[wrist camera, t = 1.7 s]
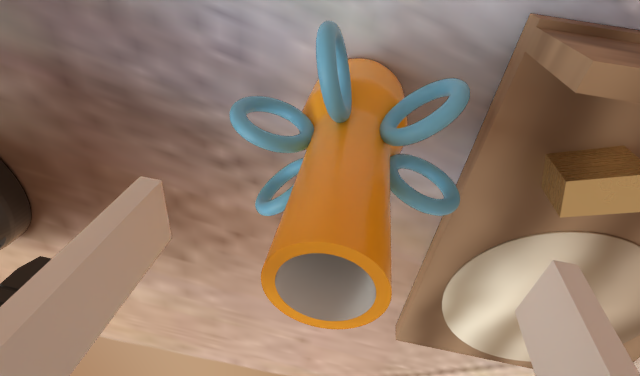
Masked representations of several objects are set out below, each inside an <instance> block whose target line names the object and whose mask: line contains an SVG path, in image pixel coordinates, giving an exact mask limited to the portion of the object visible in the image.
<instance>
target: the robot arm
mask: <svg viewBox="0 0 640 376" xmlns="http://www.w3.org/2000/svg"><path fill="white" fill-rule="evenodd" d="M30 221H31V210H30V205H29V202H28V199H27V197H26V194H25V192H24V190H23V188H22V187H21V185H20V183H19V182H18V180H17V179H16V178H15V176H14V175H13V174H12V172H11V171H10V170H9V169H8V167H7V166H6V165H5V164H4V163H3V162H2V161H1V160H0V250H1V249H3V248H4V247H6V246H7V245H9V244H10V243H11V242H13V241H14V240H15V239H16V238H18V237H19V236H20V235H21V234H22V233H24V232H25V231H26V230H27V228H28V227H29V224H30ZM171 239H172V235H171V230H170V224H169V219H168V213H167V208H166V202H165V197H164V191H163V186H162V180H157V179H153V178H148V177H143V176H140V177H139V178H138V179H137V180H136V181H135V182H134V183H132V184H131V185H130V186H129V187H128V188H127V189H126V190H125V191H124V192H123V193H122V194H121V195H120V196H119V197H117V198H116V199H115V200H114V201H113V202H112V203H111V204H110V205H109V206H108V207H107V208H106V209H105V210H104V211H102V212H101V213H100V214H99V215H98V216H97V217H96V218H95V219H94V220H93V221H92V222H91V223H90V224H89V225H87V226H86V227H85V228H84V229H83V230H82V231H81V232H80V233H79V234H78V235H77V236H76V237H75V238H74V239H72V240H71V241H70V242H69V243H68V244H67V245H66V246H65V247H64V248H63V249H62V250H61V251H60V252H59V253H58V254H56V255H55V256H54V257H53V258H52V259H50V258H46V257H41V256H40V257H38V258H36V259H34V260H32V261H31V262H29V263H27V264H25V265H23V266H21V267H20V268H18V269H17V270H16V271H14V272H13V273H12V274H11V275H10V276H9V277H8V278H6V279H5V280H4V281H3V282H2V283H1V284H0V376H70V374H71V373H72V372H73V370H74V369H75V368H76V366H77V365H78V364H79V362H80V361H81V360H82V358H83V357H84V356H85V354H86V353H87V352H88V350H89V349H90V347H91V346H92V345H93V343H94V342H95V341H96V339H97V338H98V337H99V335H100V334H101V333H102V331H103V330H104V329H105V327H106V326H107V325H108V323H109V322H110V321H111V319H112V318H113V317H114V315H115V314H116V313H117V311H118V310H119V308H120V307H121V306H122V304H123V303H124V302H125V300H126V299H127V298H128V296H129V295H130V294H131V292H132V291H133V290H134V288H135V287H136V286H137V284H138V283H139V282H140V280H141V279H142V278H143V276H144V275H145V274H146V272H147V271H148V269H149V268H150V267H151V265H152V264H153V263H154V261H155V260H156V259H157V257H158V256H159V255H160V253H161V252H162V251H163V249H164V248H165V247H166V245H167V244H168V243H169V241H170V240H171ZM515 314H516V317H517V320H518V323H519V326H520V330H521V333H522V336H523V339H524V342H525V345H526V348H527V351H528V354H529V357H530V360H531V363H532V366H533V369H534V372H535V376H640V374H639V372H638V370H637V368H636V367H635V365H634V363H633V361H632V360H631V358H630V356H629V354H628V353H627V351H626V349H625V347H624V345H623V344H622V342H621V340H620V338H619V337H618V335H617V333H616V331H615V330H614V328H613V326H612V324H611V323H610V321H609V319H608V317H607V315H606V314H605V312H604V310H603V308H602V307H601V305H600V303H599V301H598V300H597V298H596V296H595V294H594V293H593V291H592V289H591V287H590V286H589V284H588V282H587V280H586V278H585V277H584V275H583V273H582V271H581V270H580V268H579V266H578V265H576V264H571V263H566V262H561V261H556V260H553V261H552V262H551V263H550V265H549V266H548V267H547V269H546V270H545V271H544V273H543V274H542V275H541V277H540V278H539V279H538V281H537V282H536V283H535V285H534V286H533V287H532V289H531V290H530V291H529V293H528V294H527V295H526V297H525V298H524V299H523V301H522V302H521V303H520V305H519V306H518V307H517V309H516V310H515Z"/></svg>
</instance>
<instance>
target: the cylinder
mask: <svg viewBox="0 0 640 376" xmlns="http://www.w3.org/2000/svg"><path fill="white" fill-rule="evenodd" d="M316 59H317V69H318V76H319V79H318V80H317V82H316V84H315V86H314V88H313V90H312V92H311V94H310V96H309V98H308V100H307V102H306V104H305V106H304V109H303V112H301V111H300V110H299V109H297V108H295V107H294V106H292V105H290V104H288V103H286V102H283V101H280V100H277V99H274V98H269V97H263V96H250V97H245V98H242V99H240V100H238V101H237V102H235V103H234V104H233V106H232V107H231V110H230V121H231V124H232V126H233V127H234V129H235V130H236V131H237V132H238V133H239V134H240V135H241V136H242V137H243V138H244V139H246V140H247V141H249V142H250V143H252V144H254V145H256V146H258V147H261V148H263V149H266V150H269V151H274V152H279V153H295V152H299V151H302V150H305V149H306V150H307V151H306V153H305V156H304V158H301V159H299V160H296V161H294V162H292V163H290V164H289V165H287V166H286V167H284V168H283V169H282V170H280V171H279V172H278V173H277V174H275V175H274V176H273V177H272V178H271V179H270V180H269V181H268V182H267V183H266V184H265V186H264V187H263V188H262V190H261V191H260V193H259V194H258V196H257V199H256V203H255V206H256V210H257V211H258V213H260V214H261V215H264V216H272V215H276V214H279V213H281V212H283V211H284V212H283V215H282V218H281V220H280V223H279V226H278V228H277V231H276V234H275V236H274V239H273V242H272V244H271V247H270V250H269V252H268V255H267V258H266V260H265V263H264V266H263V268H262V272H261V283H262V287H263V290H264V292H265V294H266V296H267V297H268V299H269V300H270V301H271V302H272V304H273V305H274V306H275V307H277V308H278V309H279V310H280V311H281V312H283V313H284V314H286V315H287V316H289V317H291V318H293V319H295V320H297V321H299V322H302V323H304V324H307V325H311V326H315V327H319V328H326V329H349V328H355V327H359V326H363V325H366V324H368V323H370V322H372V321H374V320H376V319H377V318H378V317H380V316H381V315H382V314H383V313H384V312H385V311H386V309H387V308H388V306H389V304H390V301H391V295H392V291H391V220H390V190H391V191H392V192H393V193H394V194H395V195H396V196H397V197H398V198H399V199H400V200H402V201H403V202H404V203H406V204H407V205H409V206H410V207H412V208H414V209H416V210H418V211H421V212H423V213H427V214H430V215H437V216H442V215H448V214H451V213H452V212H454V211H455V210H456V209H457V208H458V206H459V204H460V194H459V191H458V189H457V187H456V185H455V184H454V182H453V181H452V180H451V179H450V178H449V177H448V176H447V175H446V174H445V173H444V172H443V171H442V170H440V169H439V168H438V167H436V166H435V165H433V164H431V163H429V162H428V161H426V160H423V159H421V158H418V157H415V156H412V155H407V154H400V152H401V150H402V148H403V146H405V145H410V144H413V143H416V142H419V141H422V140H424V139H426V138H428V137H430V136H432V135H434V134H436V133H437V132H439V131H441V130H442V129H444V128H445V127H446V126H448V125H449V124H450V123H451V122H453V121H454V120H455V119H456V118H457V117H458V116H459V115H460V114H461V112H462V111H463V110H464V108H465V107H466V105H467V103H468V101H469V98H470V89H469V87H468V85H467V84H466V83H465V82H464V81H462V80H460V79H455V78H449V79H443V80H439V81H436V82H433V83H430V84H428V85H426V86H424V87H422V88H420V89H418V90H416V91H414V92H413V93H411V94H409V95H408V96H406V97H404V93H403V89H402V86H401V84H400V82H399V80H398V79H397V77H396V76H395V75H394V74H393V73H392V72H391V71H390V70H389V69H388V68H387V67H385V66H384V65H382V64H380V63H378V62H376V61H373V60H369V59H363V58H353V59H348V58H347V53H346V48H345V44H344V40H343V36H342V33H341V31H340V29H339V27H338V25H337V24H336V23H334V22H332V21H326V22H324V23H322V24H321V26H320V27H319V29H318V32H317V38H316ZM444 96H449V98H448V99H447V101H446V102H445V103H444V104H443V105H442V106H441V107H440V108H438V109H437V110H436V111H435V112H433V113H432V114H430V115H429V116H427V117H426V118H424V119H422V120H420V121H418V122H416V123H414V124H412V125H409V126H408V124H407V115H408V114H410V113H411V112H412V111H414V110H415V109H417V108H418V107H420V106H421V105H423V104H425V103H427V102H429V101H431V100H434V99H437V98H440V97H444ZM256 111H261V112H268V113H273V114H276V115H279V116H281V117H283V118H285V119H287V120H289V121H290V122H292V123H293V124H294V125H295V126H296V127H297V128H298V130H299V132H300V134H298V135H296V136H280V135H276V134H272V133H269V132H267V131H264V130H262V129H260V128H258V127H257V126H255V125H254V124H253V123H251V122H250V121H249V119H248V118H247V116H246V115H247V114H248V113H250V112H256ZM401 168H404V169H409V170H413V171H415V172H418V173H420V174H422V175H423V176H425V177H427V178H428V179H430V180H431V181H432V182H433V183H434V184H435V185H436V186H437V187H438V188H439V189H440V190H441V192H442V194H443V196H444V199H434V198H430V197H427V196H425V195H423V194H421V193H419V192H417V191H416V190H414V189H413V188H412V187H410V186H409V185H408V184H407V183H406V182H405V181H404V180H403V179H402V178H401V177H400V175H399V173H398V169H401ZM296 175H297V178H296V180H295V183H294V185H293V186H292V187H291V188H290V189H288V190H287V191H286V192H285V193H283V194H282V195H280V196H279V197H277V198H275V199H273V200H271V199H272V197H273V196H274V194H275V193H276V192H277V191H278V190H279V189H280V187H282V186H283V185H284V184H285V183H286V182H287V181H288V180H290V179H291V178H293V177H294V176H296Z"/></svg>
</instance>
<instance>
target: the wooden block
mask: <svg viewBox="0 0 640 376" xmlns="http://www.w3.org/2000/svg"><path fill="white" fill-rule="evenodd" d="M541 188H542V190H543V191H544V193H545V195H546V196H547V198H548V199H549V201H550V203H551V204H552V206H553V208H554V209H555V211H556V212H557V214H558V216H559V217H560V218H562V217H576V216H591V215H605V214H620V213H634V212H640V159H639V158H638V157H637V156H636V155H635V154H633V153H632V152H631V151H630V150H629V149H628V148H627V147H625V146H624V145H623V146H614V147H605V148H596V149H587V150H577V151H568V152H559V153H550V154H546V156H545V164H544V171H543V178H542V186H541Z"/></svg>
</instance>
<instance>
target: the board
mask: <svg viewBox="0 0 640 376" xmlns="http://www.w3.org/2000/svg"><path fill="white" fill-rule="evenodd" d="M623 145H624V146H625V147H627V148H628V149H629V150H630V151H631V152H632V153H633V154H635V155H636V156H637V157H638V158H639V159H640V30H634V29H628V28H621V27H615V26H609V25H602V24H596V23H589V22H583V21H577V20H570V19H564V18H557V17H551V16H544V15H538V14H532V13H530V15H529V17H528V20H527V22H526V24H525V26H524V29H523V31H522V33H521V36H520V38H519V40H518V43H517V45H516V47H515V50H514V52H513V54H512V57H511V59H510V61H509V64H508V66H507V68H506V71H505V73H504V75H503V78H502V80H501V82H500V85H499V87H498V89H497V92H496V94H495V96H494V99H493V101H492V103H491V106H490V108H489V110H488V112H487V115H486V117H485V119H484V122H483V124H482V126H481V129H480V131H479V133H478V136H477V138H476V140H475V143H474V145H473V147H472V150H471V152H470V154H469V157H468V159H467V161H466V164H465V166H464V168H463V171H462V173H461V175H460V178H459V180H458V182H457V185H456V187H457V189H458V191H459V194H460V204H459V206H458V208H457V209H456V210H455V211H454V212H452V213H451V214H448V215H443V217H442V219H441V222H440V224H439V226H438V229H437V231H436V233H435V236H434V238H433V240H432V243H431V245H430V247H429V250H428V252H427V254H426V257H425V259H424V261H423V264H422V266H421V268H420V271H419V273H418V275H417V277H416V280H415V282H414V284H413V287H412V289H411V291H410V294H409V296H408V298H407V301H406V303H405V305H404V308H403V310H402V312H401V315H400V317H399V319H398V322H397V324H396V340H399V341H403V342H408V343H413V344H418V345H422V346H427V347H432V348H437V349H441V350H446V351H451V352H456V353H460V354H465V355H470V356H475V357H479V358H484V359H489V360H494V361H499V362H503V363H508V364H513V365H518V366H522V367H527V368H532V369H533V366H532V363H531V360H530V357H529V354H528V351H527V348H526V345H525V342H524V339H523V336H522V333H521V330H520V326H519V323H518V320H517V317H516V314H515V310H516V309H517V307H518V306H519V305H520V303H521V302H522V301H523V299H524V298H525V297H526V295H527V294H528V293H529V291H530V290H531V289H532V287H533V286H534V285H535V283H536V282H537V281H538V279H539V278H540V277H541V275H542V274H543V273H544V271H545V270H546V269H547V267H548V266H549V265H550V263H551V262H552V261H553V260H556V261H561V262H566V263H571V264H576V265H578V266H579V268H580V270H581V271H582V273H583V275H584V277H585V278H586V280H587V282H588V284H589V286H590V287H591V289H592V291H593V293H594V294H595V296H596V298H597V300H598V301H599V303H600V305H601V307H602V308H603V310H604V312H605V314H606V315H607V317H608V319H609V321H610V323H611V324H612V326H613V328H614V330H615V331H616V333H617V335H618V337H619V338H620V340H621V342H622V344H623V345H624V347H625V349H626V351H627V353H628V354H629V356H630V358H631V360H632V361H633V362H634V361H635V360H637V359H638V358H639V357H640V212H634V213H620V214H605V215H591V216H576V217H562V218H560V217H559V216H558V214H557V212H556V211H555V209H554V208H553V206H552V204H551V203H550V201H549V199H548V198H547V196H546V195H545V193H544V191H543V190H542V188H541V186H542V178H543V171H544V164H545V156H546V154H550V153H559V152H568V151H577V150H587V149H596V148H605V147H614V146H623Z"/></svg>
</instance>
